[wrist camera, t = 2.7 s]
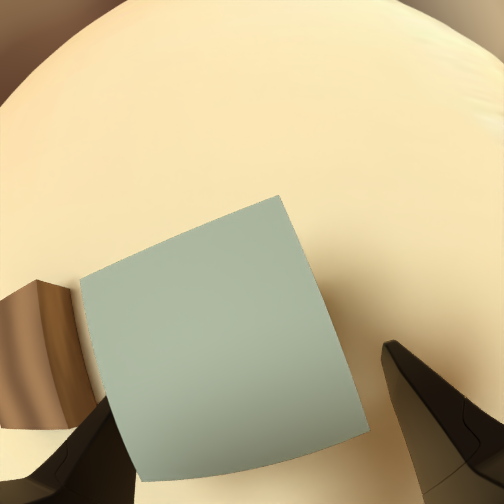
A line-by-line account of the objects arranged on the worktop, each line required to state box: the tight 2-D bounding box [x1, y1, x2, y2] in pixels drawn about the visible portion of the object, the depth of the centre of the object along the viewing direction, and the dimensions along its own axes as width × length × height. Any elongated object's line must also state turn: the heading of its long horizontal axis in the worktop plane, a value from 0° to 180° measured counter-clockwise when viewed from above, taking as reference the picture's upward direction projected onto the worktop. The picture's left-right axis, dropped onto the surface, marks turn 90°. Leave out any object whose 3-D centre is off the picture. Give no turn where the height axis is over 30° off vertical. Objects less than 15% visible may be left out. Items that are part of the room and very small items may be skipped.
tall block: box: [80, 195, 370, 482], centre depth 11 cm, size 5×5×13 cm
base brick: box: [0, 279, 97, 430], centre depth 17 cm, size 11×11×4 cm
